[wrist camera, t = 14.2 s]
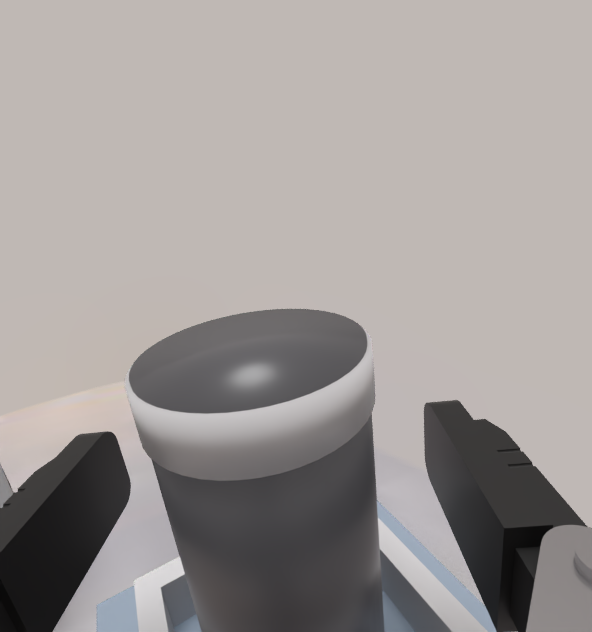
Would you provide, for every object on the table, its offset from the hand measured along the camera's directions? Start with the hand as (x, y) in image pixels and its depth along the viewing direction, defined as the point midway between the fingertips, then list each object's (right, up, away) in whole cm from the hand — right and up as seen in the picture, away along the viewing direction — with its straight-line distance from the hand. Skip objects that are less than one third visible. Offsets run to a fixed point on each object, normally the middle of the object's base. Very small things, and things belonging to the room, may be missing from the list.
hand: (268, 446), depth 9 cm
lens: (+1, -8, +2) cm, 8 cm away
